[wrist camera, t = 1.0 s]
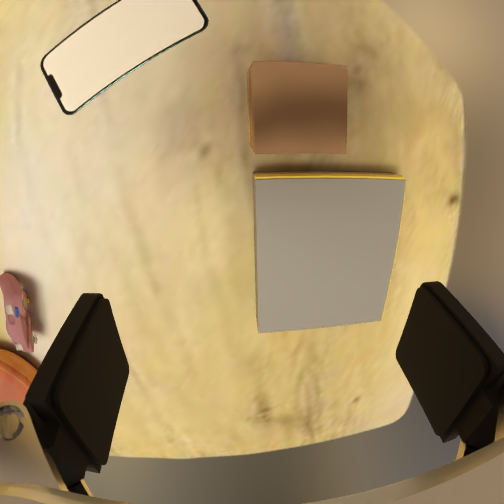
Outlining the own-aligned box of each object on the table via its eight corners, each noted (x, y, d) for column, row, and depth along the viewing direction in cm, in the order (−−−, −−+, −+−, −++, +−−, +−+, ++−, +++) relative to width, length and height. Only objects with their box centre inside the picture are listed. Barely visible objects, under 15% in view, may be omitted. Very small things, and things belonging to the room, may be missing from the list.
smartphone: (176, -30, 19) (39, 61, 21) (175, -32, 19) (37, 61, 21) (213, 27, 22) (69, 119, 25) (213, 26, 22) (66, 120, 24)
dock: (252, 170, 28) (255, 177, 26) (393, 171, 29) (408, 178, 26) (256, 315, 35) (258, 333, 33) (373, 305, 36) (382, 320, 33)
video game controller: (39, 327, 36) (40, 362, 31) (11, 328, 34) (9, 364, 29) (29, 267, 32) (25, 301, 27) (-1, 269, 30) (-10, 302, 25)
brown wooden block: (247, 72, 24) (252, 61, 18) (319, 74, 25) (346, 66, 18) (249, 142, 27) (255, 153, 21) (319, 142, 27) (346, 153, 21)
